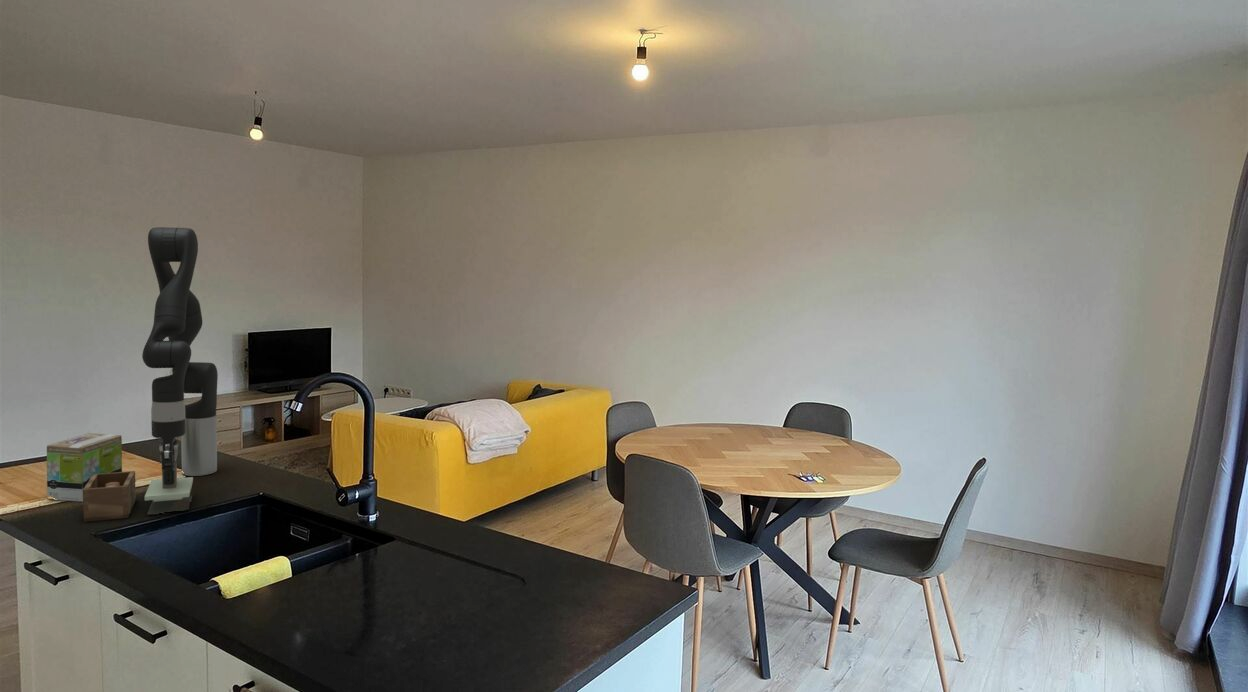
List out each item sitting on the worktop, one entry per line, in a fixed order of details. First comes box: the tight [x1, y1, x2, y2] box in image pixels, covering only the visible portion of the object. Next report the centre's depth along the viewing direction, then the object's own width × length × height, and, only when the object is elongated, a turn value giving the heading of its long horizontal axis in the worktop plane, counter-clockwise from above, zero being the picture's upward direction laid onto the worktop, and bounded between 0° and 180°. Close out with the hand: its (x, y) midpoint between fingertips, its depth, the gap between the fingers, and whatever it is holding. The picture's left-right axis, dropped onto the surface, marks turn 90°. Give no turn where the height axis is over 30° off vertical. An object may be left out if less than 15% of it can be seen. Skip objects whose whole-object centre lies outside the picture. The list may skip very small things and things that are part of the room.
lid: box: [144, 461, 194, 502], centre depth 194 cm, size 15×10×8 cm, turn 26°
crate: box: [82, 470, 137, 523], centre depth 189 cm, size 14×9×8 cm, turn 27°
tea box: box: [46, 432, 123, 503], centre depth 201 cm, size 15×10×15 cm, turn 179°
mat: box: [147, 495, 193, 516], centre depth 195 cm, size 12×9×1 cm
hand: (169, 482), depth 194 cm, fingers closed on lid, 3 cm apart
